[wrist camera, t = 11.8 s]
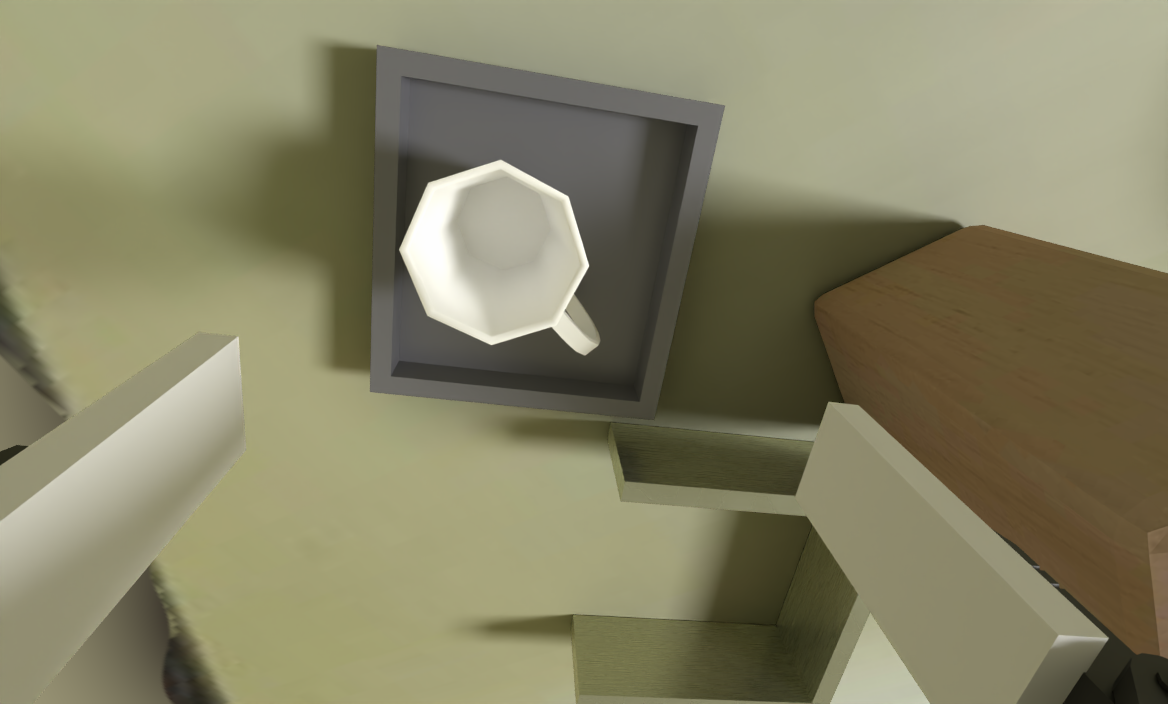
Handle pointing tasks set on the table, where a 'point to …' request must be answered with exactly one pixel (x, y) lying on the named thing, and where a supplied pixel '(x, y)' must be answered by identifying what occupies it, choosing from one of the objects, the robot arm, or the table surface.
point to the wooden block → (1028, 403)
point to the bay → (709, 649)
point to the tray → (601, 209)
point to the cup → (499, 257)
